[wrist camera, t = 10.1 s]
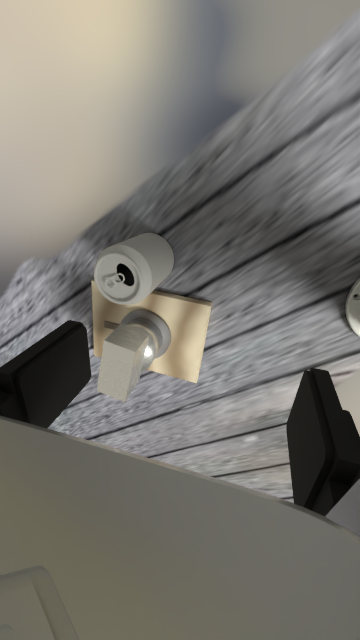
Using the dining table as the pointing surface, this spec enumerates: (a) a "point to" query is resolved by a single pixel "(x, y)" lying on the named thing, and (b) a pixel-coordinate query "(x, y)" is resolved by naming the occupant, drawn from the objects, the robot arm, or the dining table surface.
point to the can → (133, 268)
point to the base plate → (172, 320)
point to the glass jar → (128, 356)
